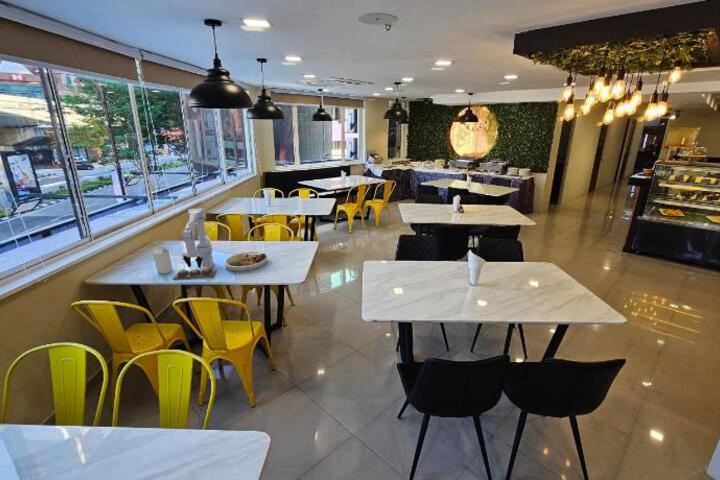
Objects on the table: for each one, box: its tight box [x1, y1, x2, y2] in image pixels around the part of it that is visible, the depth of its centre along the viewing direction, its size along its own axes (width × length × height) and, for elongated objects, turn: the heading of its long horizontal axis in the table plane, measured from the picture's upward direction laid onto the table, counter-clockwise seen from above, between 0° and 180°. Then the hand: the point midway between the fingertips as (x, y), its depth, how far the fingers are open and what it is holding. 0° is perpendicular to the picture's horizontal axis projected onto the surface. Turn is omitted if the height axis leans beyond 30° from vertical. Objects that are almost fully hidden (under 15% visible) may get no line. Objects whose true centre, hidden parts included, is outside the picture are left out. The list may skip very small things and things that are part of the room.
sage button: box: [178, 267, 186, 274], centre depth 243 cm, size 4×4×2 cm
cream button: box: [190, 267, 198, 273], centre depth 244 cm, size 4×4×2 cm
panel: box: [172, 268, 218, 281], centre depth 245 cm, size 11×26×3 cm, turn 96°
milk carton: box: [152, 246, 173, 274], centre depth 251 cm, size 7×7×19 cm
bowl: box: [224, 251, 268, 272], centre depth 261 cm, size 30×30×8 cm
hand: (194, 267), depth 234 cm, fingers open, 7 cm apart
